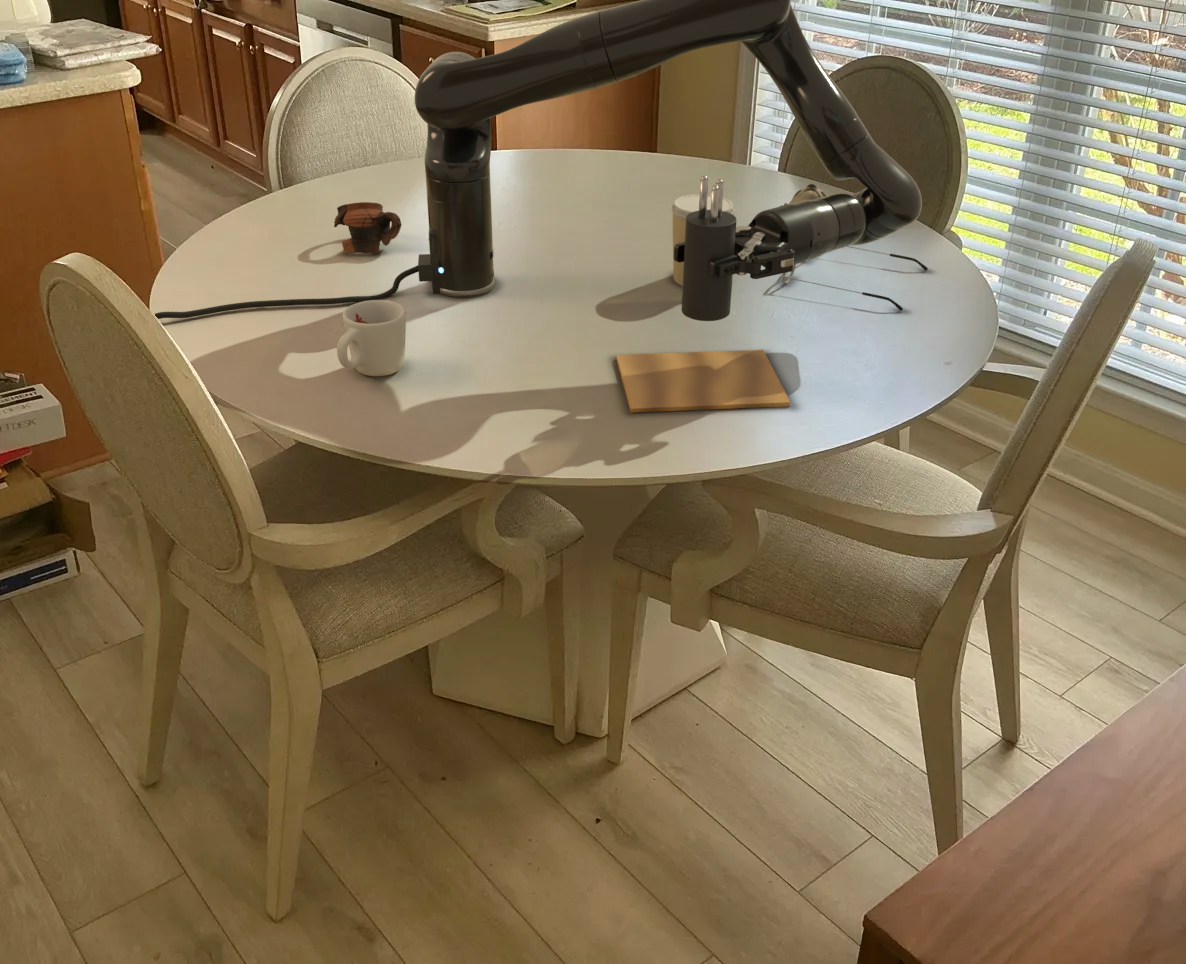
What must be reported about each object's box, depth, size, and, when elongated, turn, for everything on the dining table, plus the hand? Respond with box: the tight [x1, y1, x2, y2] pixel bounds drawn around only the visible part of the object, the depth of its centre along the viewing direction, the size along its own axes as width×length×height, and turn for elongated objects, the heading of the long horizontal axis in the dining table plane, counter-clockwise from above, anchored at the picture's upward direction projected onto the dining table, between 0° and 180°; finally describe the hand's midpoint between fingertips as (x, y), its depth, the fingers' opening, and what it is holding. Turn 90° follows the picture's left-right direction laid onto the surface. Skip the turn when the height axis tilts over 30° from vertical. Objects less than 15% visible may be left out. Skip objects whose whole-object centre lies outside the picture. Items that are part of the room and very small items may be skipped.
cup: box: [336, 299, 407, 377], centre depth 148 cm, size 11×8×8 cm
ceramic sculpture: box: [781, 183, 828, 206], centre depth 194 cm, size 11×9×15 cm
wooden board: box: [615, 349, 792, 414], centre depth 149 cm, size 20×15×1 cm
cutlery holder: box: [681, 175, 737, 322], centre depth 139 cm, size 6×6×17 cm
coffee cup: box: [671, 193, 736, 287], centre depth 175 cm, size 9×9×12 cm
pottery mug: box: [333, 201, 402, 255], centre depth 187 cm, size 12×10×8 cm
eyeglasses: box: [781, 246, 928, 312], centre depth 178 cm, size 18×19×4 cm
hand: (693, 262), depth 139 cm, fingers closed on cutlery holder, 6 cm apart
